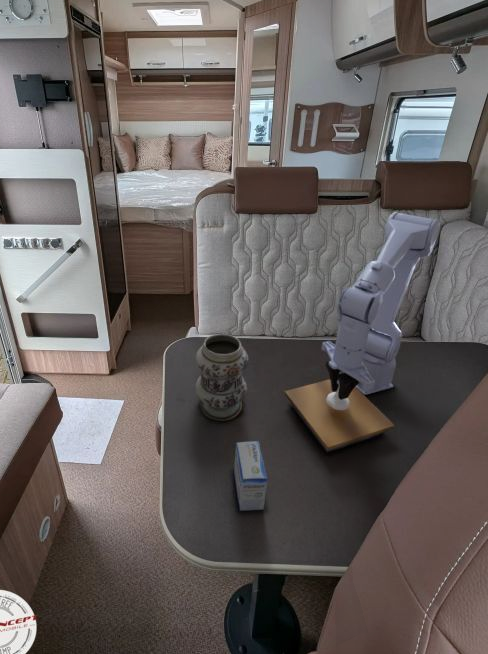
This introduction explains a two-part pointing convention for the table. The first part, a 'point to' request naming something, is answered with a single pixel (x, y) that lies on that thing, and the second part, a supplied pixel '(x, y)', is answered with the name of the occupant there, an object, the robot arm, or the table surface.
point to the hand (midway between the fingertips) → (339, 393)
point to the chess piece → (337, 399)
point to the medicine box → (250, 476)
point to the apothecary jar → (221, 376)
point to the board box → (337, 416)
